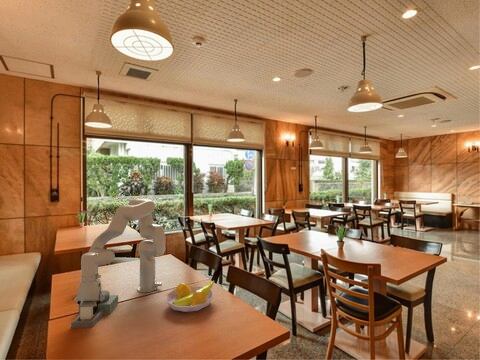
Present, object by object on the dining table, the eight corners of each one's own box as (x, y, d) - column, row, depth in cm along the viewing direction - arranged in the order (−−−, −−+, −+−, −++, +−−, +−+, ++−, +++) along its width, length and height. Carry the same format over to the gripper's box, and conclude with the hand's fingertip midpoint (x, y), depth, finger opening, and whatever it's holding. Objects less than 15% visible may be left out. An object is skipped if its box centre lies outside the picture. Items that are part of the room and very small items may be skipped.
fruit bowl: (165, 321, 133) (166, 299, 133) (166, 297, 159) (166, 278, 159) (220, 314, 140) (220, 293, 140) (212, 292, 166) (212, 274, 166)
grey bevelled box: (98, 310, 138) (98, 297, 138) (90, 319, 130) (90, 305, 130) (88, 311, 137) (88, 297, 137) (80, 319, 129) (80, 305, 129)
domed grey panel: (118, 303, 150) (118, 289, 150) (99, 326, 127) (99, 310, 127) (89, 304, 149) (89, 290, 149) (64, 328, 126) (64, 311, 126)
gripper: (110, 274, 138) (109, 309, 138) (76, 275, 136) (76, 310, 137) (103, 280, 130) (103, 316, 130) (67, 280, 129) (67, 317, 129)
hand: (89, 312), depth 133 cm, fingers closed on grey bevelled box, 5 cm apart
